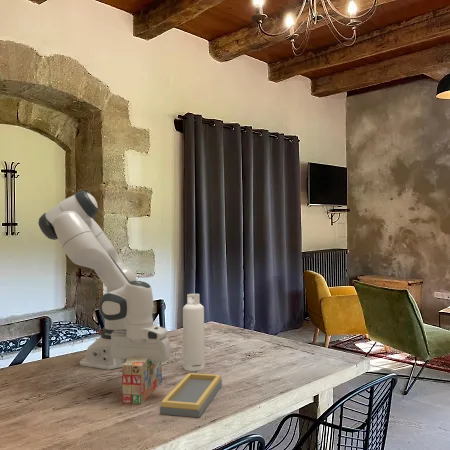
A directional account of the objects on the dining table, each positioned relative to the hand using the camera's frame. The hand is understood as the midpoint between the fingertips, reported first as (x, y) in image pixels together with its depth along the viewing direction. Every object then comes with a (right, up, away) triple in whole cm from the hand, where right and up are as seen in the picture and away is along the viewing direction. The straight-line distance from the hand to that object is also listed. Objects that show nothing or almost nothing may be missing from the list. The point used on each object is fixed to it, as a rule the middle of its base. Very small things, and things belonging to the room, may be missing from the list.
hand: (140, 372), depth 154 cm
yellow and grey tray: (+18, -6, -6) cm, 20 cm away
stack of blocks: (+1, -7, +1) cm, 7 cm away
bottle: (+16, -6, +26) cm, 31 cm away
